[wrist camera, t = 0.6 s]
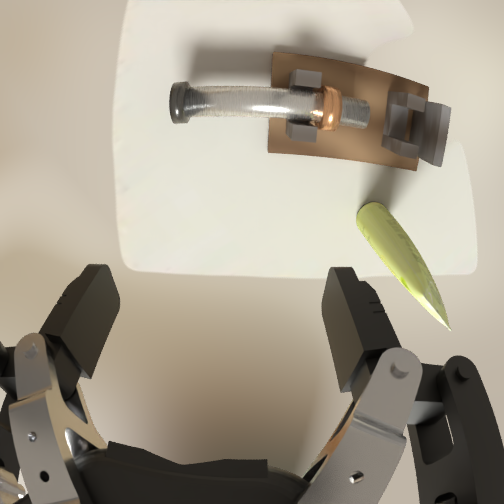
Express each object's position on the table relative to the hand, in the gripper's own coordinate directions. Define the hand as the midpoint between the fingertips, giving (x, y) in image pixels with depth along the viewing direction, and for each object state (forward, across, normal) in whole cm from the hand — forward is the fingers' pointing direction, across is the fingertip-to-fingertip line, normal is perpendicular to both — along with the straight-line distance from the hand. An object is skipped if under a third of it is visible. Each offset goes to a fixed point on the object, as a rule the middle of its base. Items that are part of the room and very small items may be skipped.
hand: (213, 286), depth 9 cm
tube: (+25, -18, +9) cm, 32 cm away
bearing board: (+25, -14, -5) cm, 29 cm away
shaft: (+23, -3, -5) cm, 24 cm away
